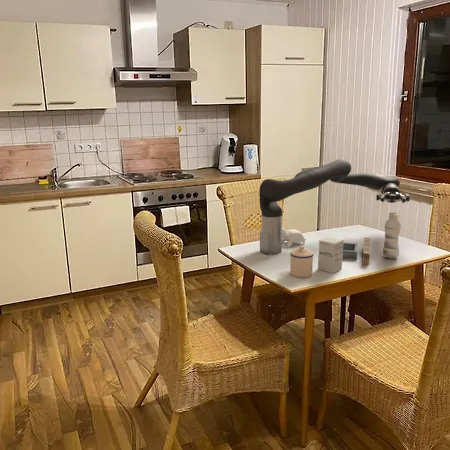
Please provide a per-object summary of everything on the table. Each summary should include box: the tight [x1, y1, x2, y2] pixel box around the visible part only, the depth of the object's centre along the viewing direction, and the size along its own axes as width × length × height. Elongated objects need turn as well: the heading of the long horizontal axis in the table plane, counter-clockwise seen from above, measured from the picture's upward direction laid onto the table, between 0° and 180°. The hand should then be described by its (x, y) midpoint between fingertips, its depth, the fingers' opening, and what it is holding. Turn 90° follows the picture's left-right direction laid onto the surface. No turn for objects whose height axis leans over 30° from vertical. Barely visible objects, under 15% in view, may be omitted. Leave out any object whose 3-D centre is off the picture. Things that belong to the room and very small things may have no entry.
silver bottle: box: [382, 211, 402, 259], centre depth 194 cm, size 6×7×20 cm
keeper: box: [342, 242, 359, 260], centre depth 202 cm, size 12×12×4 cm
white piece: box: [282, 227, 307, 248], centre depth 218 cm, size 9×8×15 cm
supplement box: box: [317, 236, 345, 274], centre depth 182 cm, size 7×7×13 cm
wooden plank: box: [362, 236, 371, 266], centre depth 199 cm, size 24×2×5 cm, turn 163°
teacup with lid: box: [289, 245, 314, 279], centre depth 179 cm, size 12×9×12 cm
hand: (393, 200), depth 201 cm, fingers open, 8 cm apart
